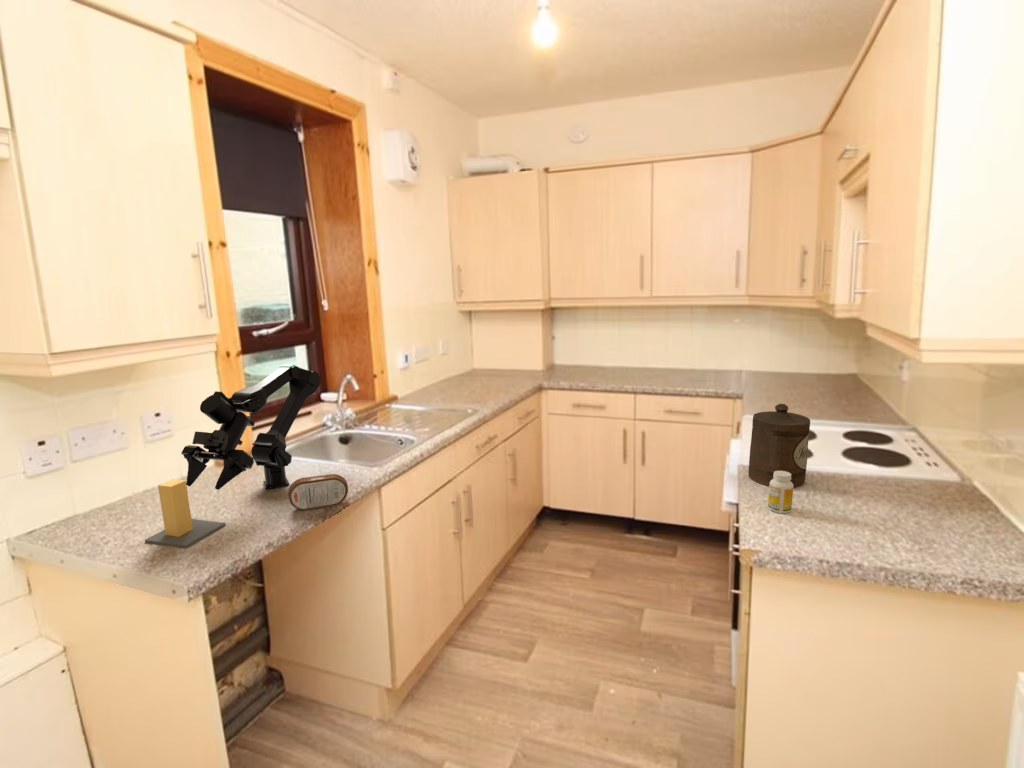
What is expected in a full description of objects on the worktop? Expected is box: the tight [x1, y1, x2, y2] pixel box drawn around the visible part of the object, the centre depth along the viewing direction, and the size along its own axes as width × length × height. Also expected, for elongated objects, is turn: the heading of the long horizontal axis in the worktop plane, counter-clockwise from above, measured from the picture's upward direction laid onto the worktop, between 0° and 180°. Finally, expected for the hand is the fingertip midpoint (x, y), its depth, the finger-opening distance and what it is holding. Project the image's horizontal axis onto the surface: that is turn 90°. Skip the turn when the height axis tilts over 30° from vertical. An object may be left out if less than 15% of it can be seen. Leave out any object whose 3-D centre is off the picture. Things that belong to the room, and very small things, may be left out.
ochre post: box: [157, 478, 193, 537], centre depth 134 cm, size 4×4×12 cm
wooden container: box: [748, 403, 811, 488], centre depth 159 cm, size 15×15×22 cm
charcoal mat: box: [144, 518, 226, 549], centre depth 136 cm, size 12×12×1 cm
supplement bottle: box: [767, 471, 794, 514], centre depth 140 cm, size 5×5×10 cm
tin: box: [287, 473, 349, 511], centre depth 149 cm, size 15×3×8 cm, turn 111°
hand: (202, 487), depth 141 cm, fingers open, 9 cm apart
